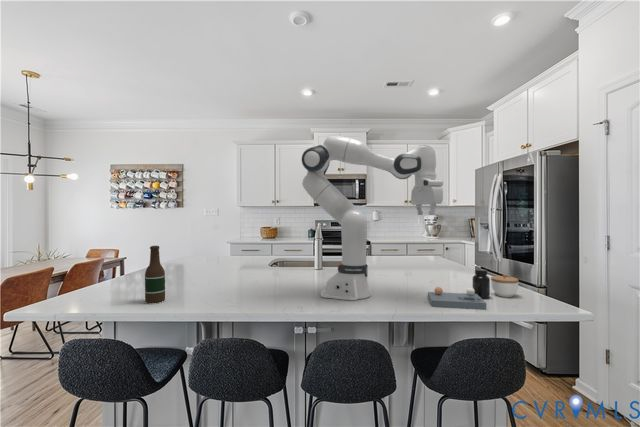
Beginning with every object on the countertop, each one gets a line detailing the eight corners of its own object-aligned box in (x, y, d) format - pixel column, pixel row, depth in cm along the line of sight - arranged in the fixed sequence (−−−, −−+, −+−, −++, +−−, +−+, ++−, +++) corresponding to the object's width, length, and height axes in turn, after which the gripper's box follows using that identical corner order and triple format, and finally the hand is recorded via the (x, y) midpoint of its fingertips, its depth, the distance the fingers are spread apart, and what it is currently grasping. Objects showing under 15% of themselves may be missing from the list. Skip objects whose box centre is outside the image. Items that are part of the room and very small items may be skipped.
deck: (431, 306, 128) (431, 300, 128) (427, 297, 142) (427, 291, 142) (486, 309, 124) (486, 302, 124) (476, 299, 138) (476, 293, 138)
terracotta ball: (435, 295, 136) (435, 287, 136) (434, 293, 139) (434, 286, 139) (443, 295, 135) (443, 288, 135) (441, 293, 138) (441, 286, 138)
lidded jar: (492, 297, 142) (492, 276, 142) (489, 291, 152) (489, 271, 152) (520, 299, 138) (520, 277, 138) (516, 293, 148) (516, 273, 148)
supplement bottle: (492, 299, 138) (491, 271, 138) (474, 298, 139) (474, 271, 139) (487, 295, 145) (486, 268, 145) (470, 294, 146) (470, 268, 146)
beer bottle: (169, 300, 141) (168, 245, 141) (153, 305, 134) (152, 247, 134) (156, 298, 144) (156, 244, 144) (140, 302, 137) (140, 246, 137)
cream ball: (467, 295, 135) (467, 288, 135) (465, 293, 138) (465, 286, 138) (475, 296, 134) (475, 288, 134) (473, 294, 137) (473, 286, 137)
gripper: (407, 185, 149) (407, 215, 149) (431, 180, 129) (431, 215, 129) (419, 185, 151) (420, 215, 151) (445, 181, 131) (446, 215, 131)
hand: (425, 215), depth 140 cm, fingers open, 8 cm apart
